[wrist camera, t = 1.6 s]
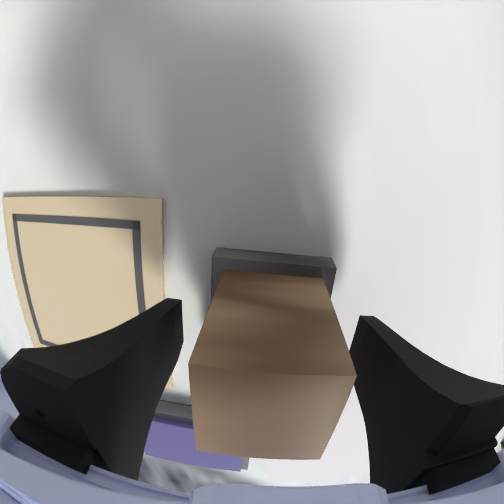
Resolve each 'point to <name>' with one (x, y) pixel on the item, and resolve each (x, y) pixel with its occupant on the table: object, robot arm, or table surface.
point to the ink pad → (183, 440)
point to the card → (84, 263)
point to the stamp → (269, 358)
